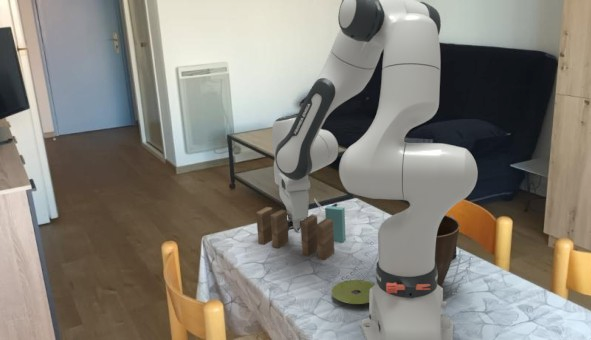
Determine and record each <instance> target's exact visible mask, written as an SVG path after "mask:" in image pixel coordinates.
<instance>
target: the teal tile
mask: <svg viewBox="0 0 591 340" xmlns="http://www.w3.org/2000/svg"><path fill="white" fill-rule="evenodd" d="M324 211H325V216H326V218H328V219H333V233H334V243H335V242H336V243H341V244H343V243H344V242H346V239H347V238H346V213H345V212H346V210H345V207H343V206H336V207H335V206H332V205H327V206H326V207H325V210H324Z"/></svg>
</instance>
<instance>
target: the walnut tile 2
mask: <svg viewBox="0 0 591 340" xmlns="http://www.w3.org/2000/svg"><path fill="white" fill-rule="evenodd" d="M270 217H271V231H272V243H271V244H272V248H275V249H280V248H282V247H283V246H285V245H287V244H288V243H290V241H289V239H290V238H289V229H288V221H287V220H288V213H287V209H286V210H285V209H280V210H278V211H275V212H273V214H272V215H270Z"/></svg>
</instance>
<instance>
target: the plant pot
mask: <svg viewBox="0 0 591 340" xmlns="http://www.w3.org/2000/svg"><path fill="white" fill-rule="evenodd" d="M459 233H460V222H459V221H458V220H457V219H455V217H454V218H452V217H451V215H447V214H445V216H444V217H443V219H442V221H441V223H440V225H439V228H438V231H437V237H436V246H435V263H436V265H437V272H438V278H437V284H438V285H439V286H441V287H442V285H443V284H444V282H445V279H446V278H447V275H448V272H449V269H450V267H451V263H452V260H453V259H452V258H453V255H454V251H455V247H456V248H457V243H458V237H459Z"/></svg>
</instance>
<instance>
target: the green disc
mask: <svg viewBox="0 0 591 340" xmlns="http://www.w3.org/2000/svg"><path fill="white" fill-rule="evenodd" d="M375 284H376V283H374V282H372V281H368V280H361V279H351V280H350V279H349V280H345V281H342V282H339V283H337V284H335V285H333V287H332V289H331V295H332V296H333V297H334V298H335V300H336V301H337V300H338V301H339V302H342V303H346V304H352V305H360V304H361V305H363V304H368V303H369V293H370V289H371V288H372V287H373V286H374V285H375Z"/></svg>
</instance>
